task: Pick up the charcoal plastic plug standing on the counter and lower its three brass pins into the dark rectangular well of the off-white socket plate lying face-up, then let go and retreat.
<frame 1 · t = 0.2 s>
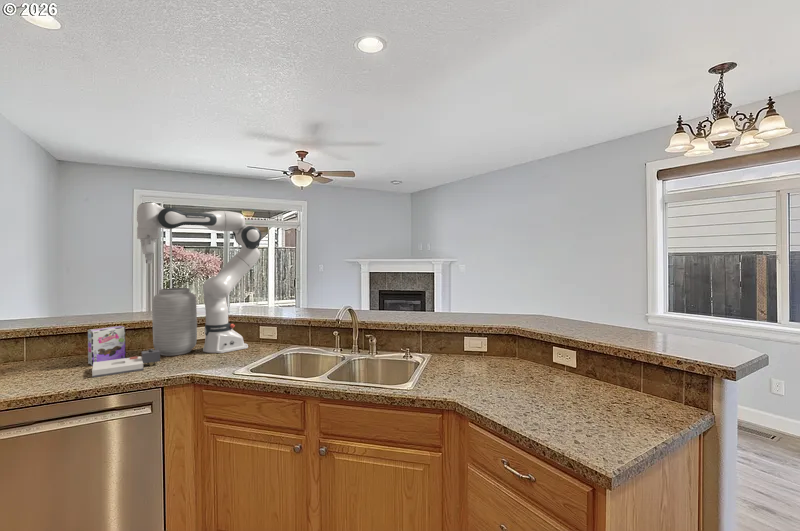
hand: (148, 263, 195), 47 cm above the worktop, fingers open, 8 cm apart
vase: (175, 352, 209), on the worktop
candy box: (107, 362, 191), on the worktop
socket: (118, 369, 178), on the worktop
plug: (151, 364, 186), on the worktop
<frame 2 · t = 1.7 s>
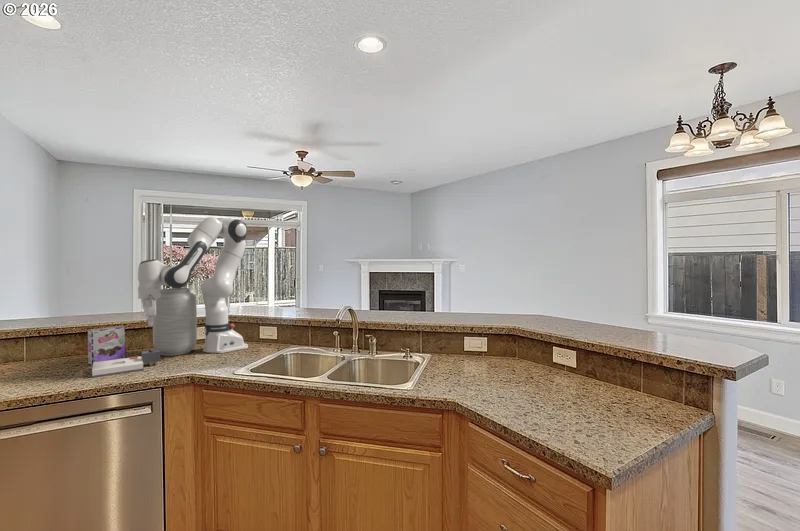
hand: (149, 323, 185), 19 cm above the worktop, fingers open, 8 cm apart
nothing on the worktop moved.
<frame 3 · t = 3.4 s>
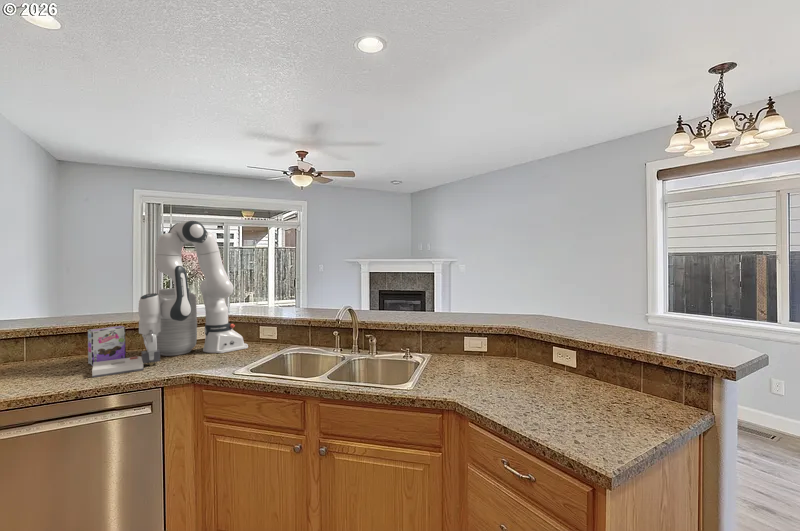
hand: (150, 358, 186), 3 cm above the worktop, fingers closed on plug, 6 cm apart
plug: (151, 364, 186), on the worktop, touching gripper
everything else where it was.
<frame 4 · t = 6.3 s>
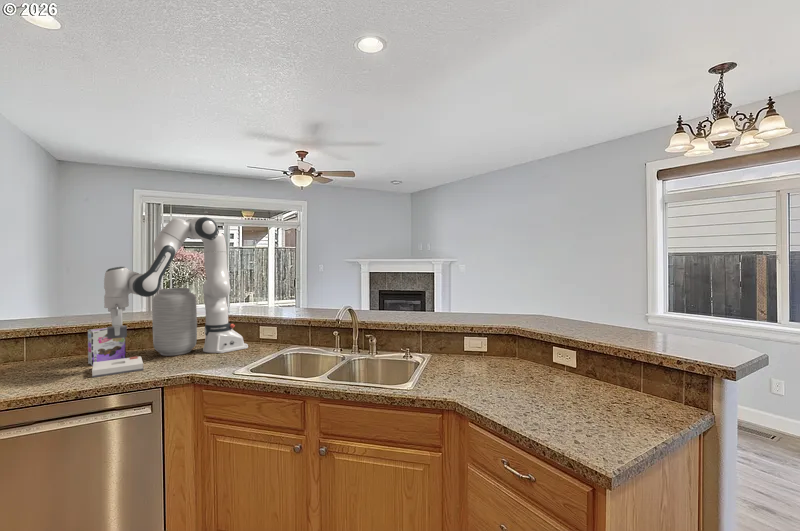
hand: (117, 334, 178), 16 cm above the worktop, fingers closed on plug, 5 cm apart
plug: (117, 340, 178), point 13 cm above the worktop, touching gripper
everything else where it was.
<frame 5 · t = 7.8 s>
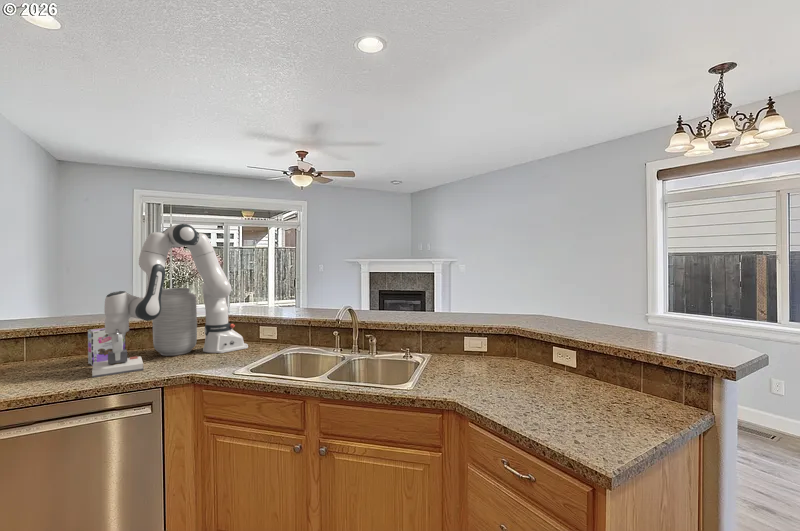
hand: (117, 358, 178), 5 cm above the worktop, fingers closed on plug, 5 cm apart
plug: (117, 365, 178), point 2 cm above the worktop, touching gripper
everything else where it was.
when the fingers open (5 cm above the worktop, at t = 8.9 s): plug stays where it is, resting on socket.
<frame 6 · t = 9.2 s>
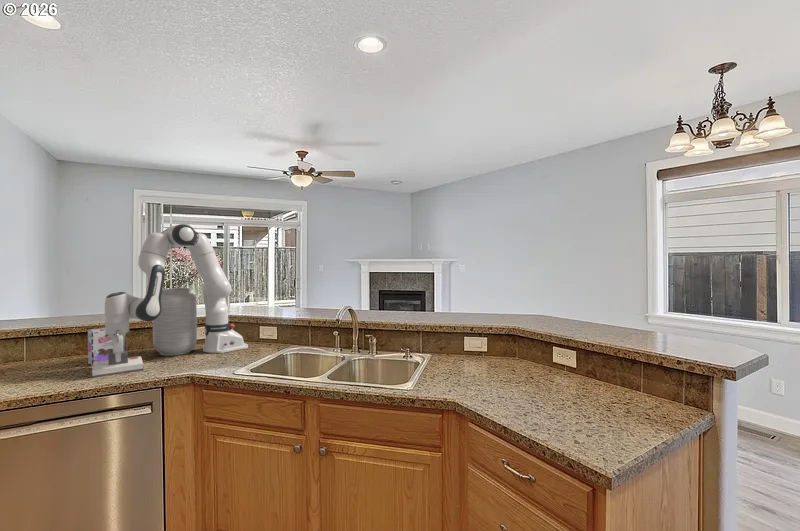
hand: (118, 359, 178), 5 cm above the worktop, fingers open, 8 cm apart
plug: (118, 366, 178), point 1 cm above the worktop, touching socket
everything else where it was.
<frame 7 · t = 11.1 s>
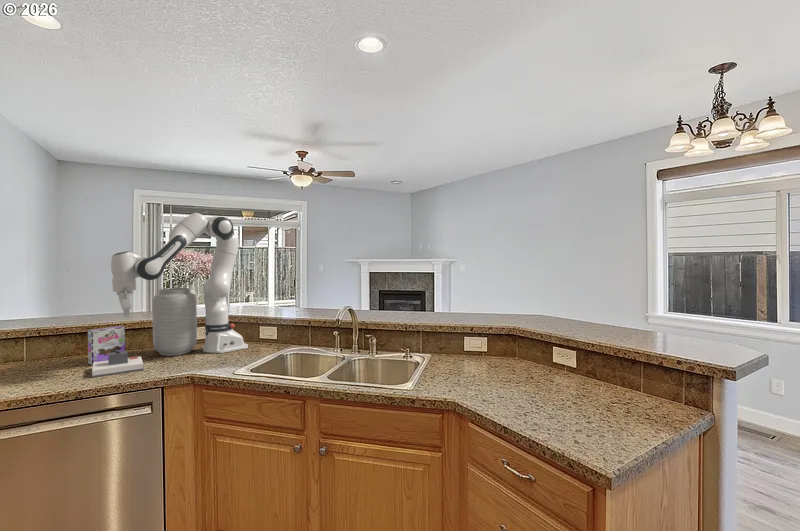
hand: (126, 316, 183), 23 cm above the worktop, fingers open, 8 cm apart
nothing on the worktop moved.
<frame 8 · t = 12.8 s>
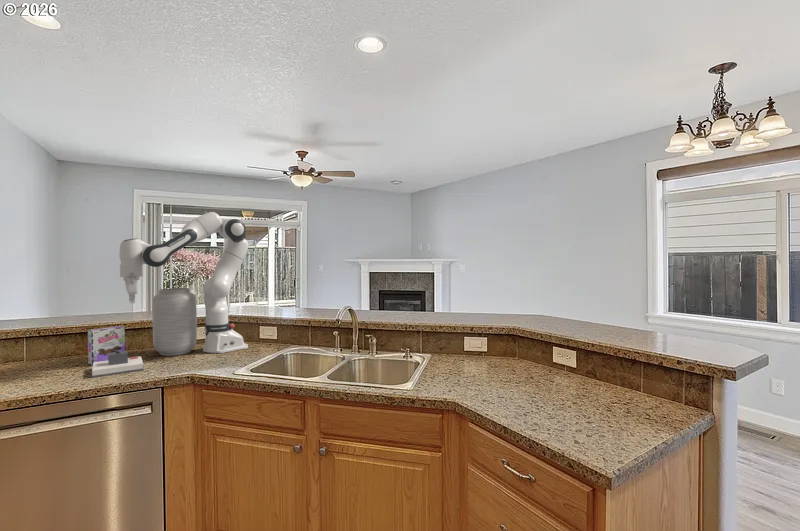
hand: (132, 302, 188), 29 cm above the worktop, fingers open, 8 cm apart
nothing on the worktop moved.
at the end: plug 0.0 cm off-centre on the socket, point 1.2 cm above the socket's base; plug tilted 0°; the gripper is holding nothing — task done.
